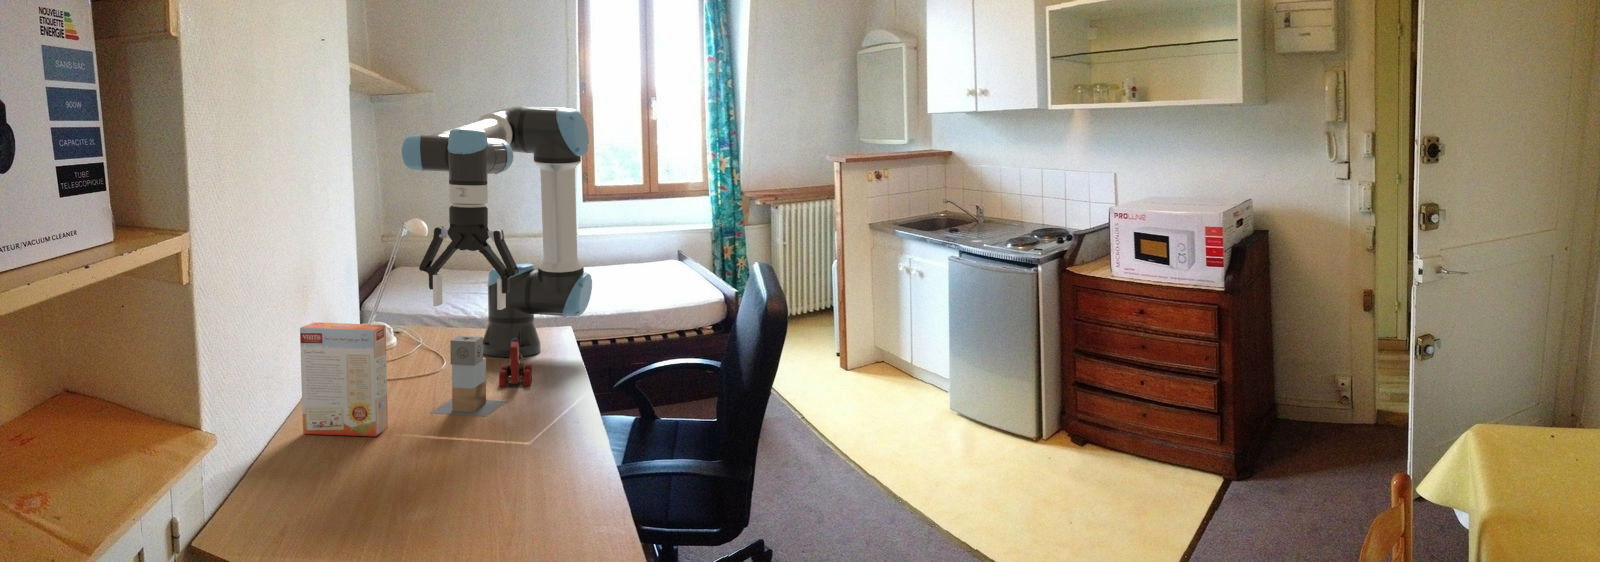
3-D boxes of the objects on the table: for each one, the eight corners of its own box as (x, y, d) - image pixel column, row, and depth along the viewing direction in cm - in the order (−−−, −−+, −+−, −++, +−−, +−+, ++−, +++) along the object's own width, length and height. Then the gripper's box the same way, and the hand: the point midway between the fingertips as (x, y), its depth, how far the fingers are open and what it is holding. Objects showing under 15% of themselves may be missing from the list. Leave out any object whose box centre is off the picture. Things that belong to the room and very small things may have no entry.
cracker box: (389, 428, 191) (387, 323, 188) (375, 438, 185) (373, 329, 182) (317, 425, 191) (314, 320, 188) (301, 434, 185) (298, 326, 182)
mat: (453, 399, 213) (453, 397, 213) (507, 403, 213) (507, 401, 212) (429, 414, 201) (429, 412, 201) (486, 418, 201) (486, 416, 201)
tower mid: (465, 379, 210) (465, 356, 209) (485, 380, 210) (485, 357, 209) (452, 387, 203) (451, 363, 202) (472, 388, 203) (472, 365, 202)
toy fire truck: (532, 377, 235) (532, 335, 234) (529, 391, 223) (530, 346, 222) (502, 377, 234) (502, 335, 232) (498, 391, 222) (498, 346, 220)
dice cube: (482, 360, 207) (482, 336, 206) (474, 365, 202) (474, 341, 201) (459, 359, 207) (459, 335, 206) (450, 364, 202) (450, 340, 201)
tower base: (466, 401, 211) (465, 379, 210) (486, 403, 210) (485, 380, 210) (452, 410, 204) (452, 387, 203) (472, 412, 203) (472, 388, 203)
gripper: (400, 203, 198) (403, 306, 201) (521, 209, 196) (521, 313, 200) (417, 200, 205) (419, 300, 209) (534, 206, 204) (534, 306, 207)
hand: (469, 307), depth 204 cm, fingers open, 13 cm apart
